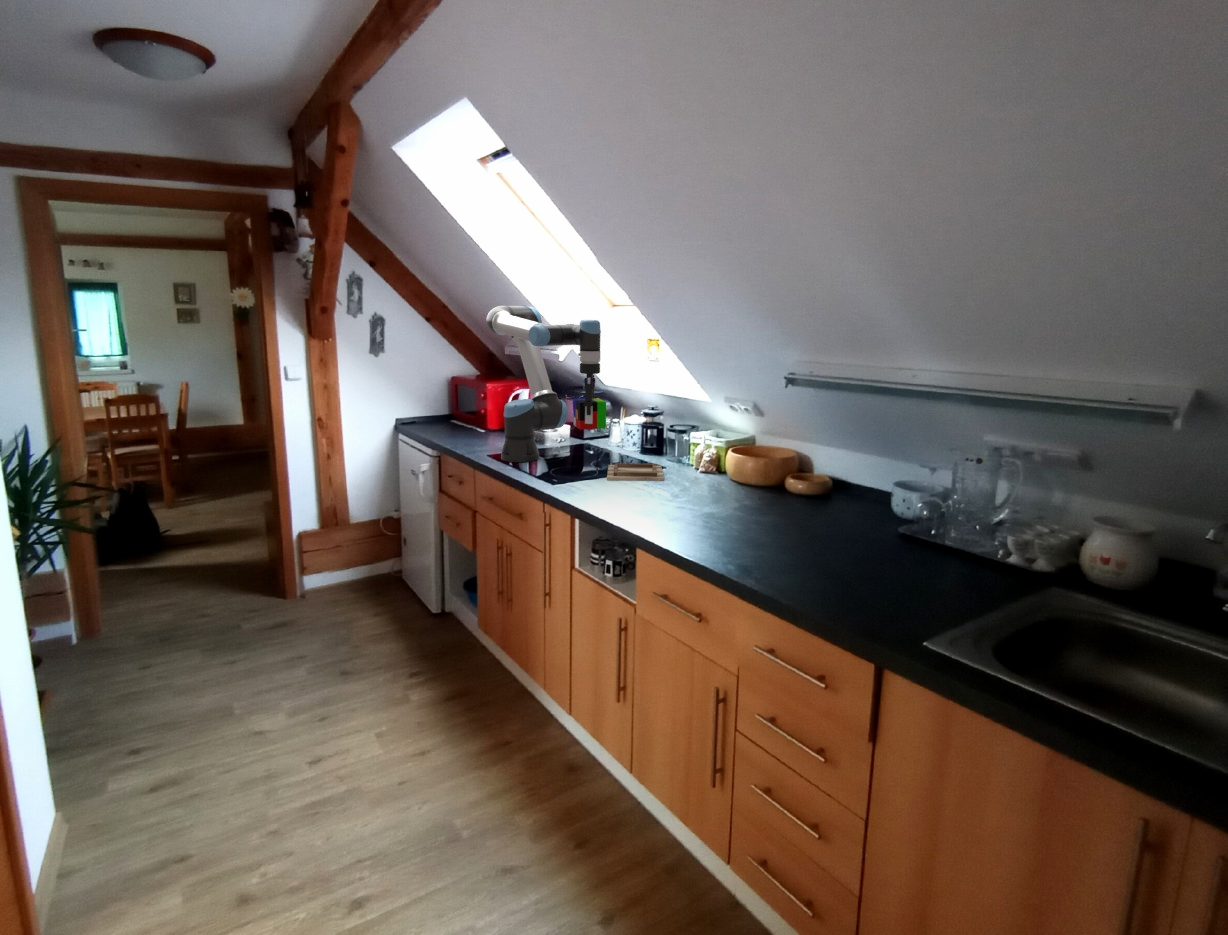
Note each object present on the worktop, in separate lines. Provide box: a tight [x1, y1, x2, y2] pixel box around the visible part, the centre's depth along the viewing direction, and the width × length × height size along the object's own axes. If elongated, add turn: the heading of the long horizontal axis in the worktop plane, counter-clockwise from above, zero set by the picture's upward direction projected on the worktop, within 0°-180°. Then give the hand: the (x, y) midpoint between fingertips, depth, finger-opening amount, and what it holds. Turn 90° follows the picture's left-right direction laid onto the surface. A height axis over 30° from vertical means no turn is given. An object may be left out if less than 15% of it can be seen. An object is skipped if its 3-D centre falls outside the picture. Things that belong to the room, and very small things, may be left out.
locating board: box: [606, 462, 665, 482], centre depth 255 cm, size 20×20×2 cm
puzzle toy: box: [573, 398, 607, 431], centre depth 262 cm, size 10×10×10 cm
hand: (589, 420), depth 263 cm, fingers closed on puzzle toy, 11 cm apart
